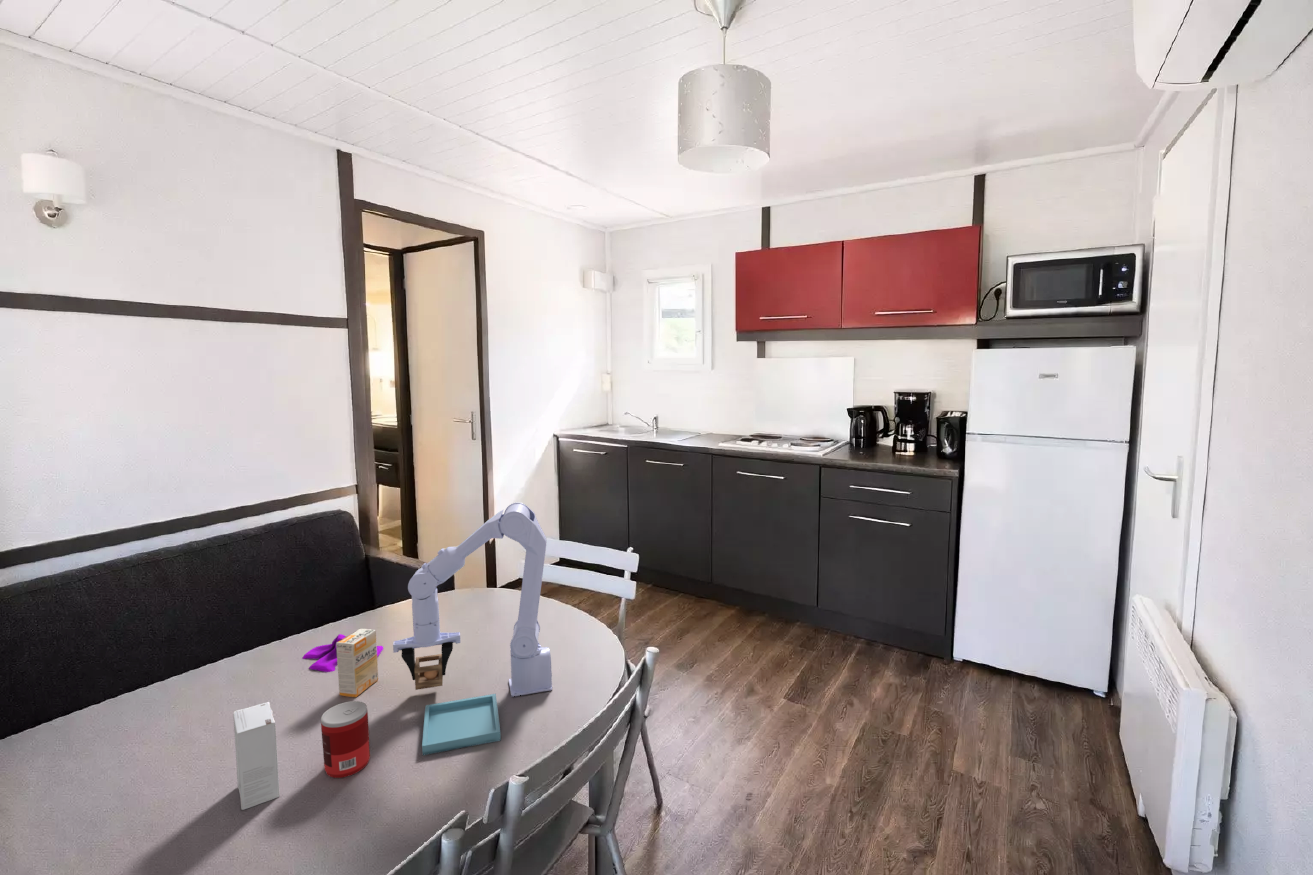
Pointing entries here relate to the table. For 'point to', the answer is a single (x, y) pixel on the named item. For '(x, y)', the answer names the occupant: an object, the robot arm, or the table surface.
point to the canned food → (345, 739)
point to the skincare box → (256, 755)
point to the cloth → (328, 655)
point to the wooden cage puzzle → (419, 671)
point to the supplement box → (357, 662)
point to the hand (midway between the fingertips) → (429, 675)
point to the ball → (431, 674)
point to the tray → (460, 724)
